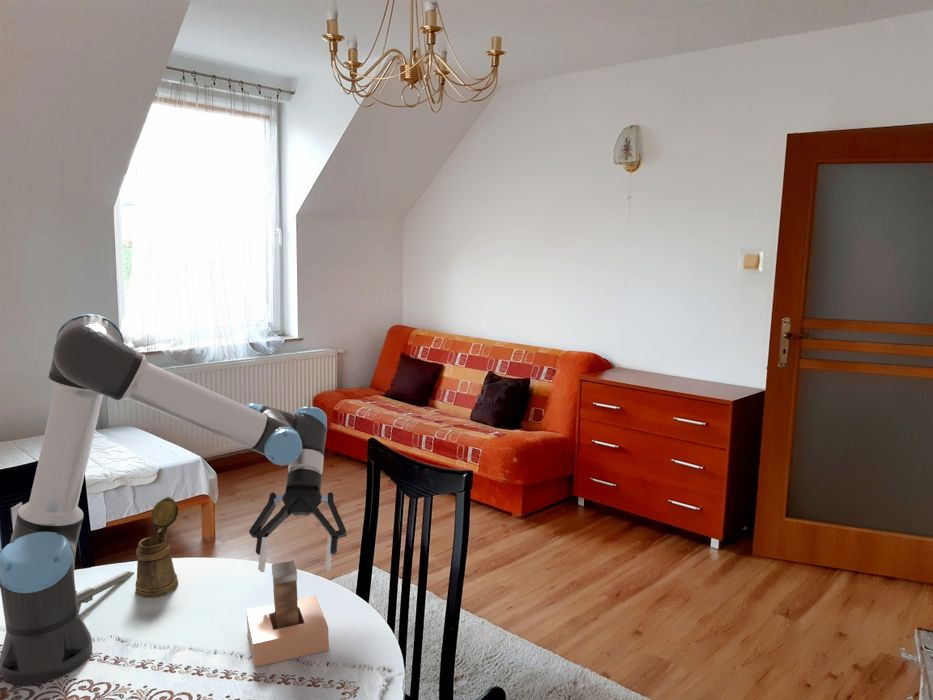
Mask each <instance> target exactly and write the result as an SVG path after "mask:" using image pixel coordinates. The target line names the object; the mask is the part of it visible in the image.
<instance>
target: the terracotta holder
mask: <svg viewBox="0 0 933 700" xmlns="http://www.w3.org/2000/svg"><path fill="white" fill-rule="evenodd" d="M297 602H298V625H294V626H289V627H285V628H280V629H276V628H275V607H274V603H273V604H269V605H267V604H266V605H263V606H257V607H253V608H248V609H245V610H246V611H245V612H246V626H247V636H248V641H249V646H250V650H251V655H252V660H253V661H252V662H253V665H254V668H258V667H261V666H266V665H271V664H275V663H280V662H283V661H289V660H291V659H297V658H301V657H304V656H306V657H307V656H310V655H313V654H318V653H322V652H327V651H330V646H329V644H330V641H329V639H330V638H329V626H328V623H327V621H326V618H325V615H324V613H323V610H322V607H321V606H320V602H319V599H318V597H317V595H312V596H309V597H303V598H302V597H301V598H297Z"/></svg>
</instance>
